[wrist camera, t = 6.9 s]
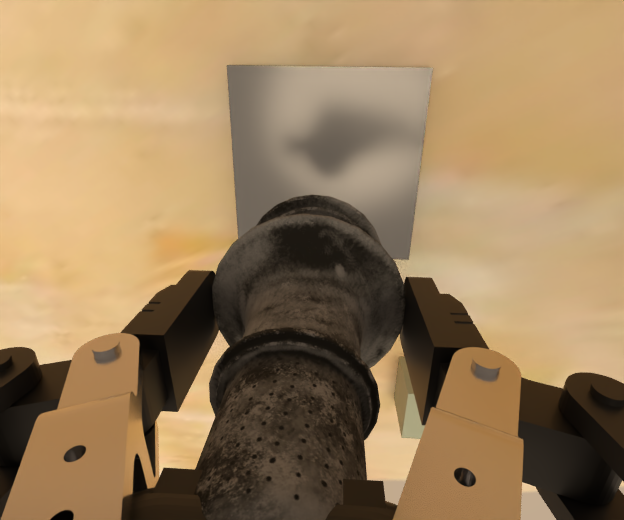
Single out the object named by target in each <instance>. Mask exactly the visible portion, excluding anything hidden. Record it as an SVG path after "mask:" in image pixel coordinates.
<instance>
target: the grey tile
mask: <svg viewBox="0 0 624 520" xmlns="http://www.w3.org/2000/svg"><path fill="white" fill-rule="evenodd" d="M432 72H433V68H422V67H338V66H253V65H227V75H228V90H229V105H230V120H231V135H232V150H233V165H234V180H235V195H236V210H237V225H238V239H239V238H240V237H241V236H243V235H244V234H245V233H246V232H248V231H249V230H250V229H251V228H253V227H255V226H256V225H257V224H258V222H259V221H260V219H261V218H262V216H263V215H264V214H266V213H267V212H268V211H269V210H271V209H272V208H273V207H274V206H276V205H277V204H279V203H281V202H284V201H286V200H288V199H291V198H293V197H299V196H305V195H321V196H330V197H333V198H336V199H339V200H341V201H344V202H346V203H349V204H350V205H352V206H353V207H354V208H356V209H357V210H358V211H360V212H361V213H362V214H364V215H365V217H366V218H367V219H368V220H369V222H370V223H371V224H372V225H373V227H374V228H375V230H376V232H377V235H378V237H379V240H380V242H381V245H382V246H383V248H384V249H385V250H386V251H387V253H388V254H389V255H390V256H391V258H392V259H406V260H409V253H410V245H411V237H412V230H413V222H414V214H415V206H416V198H417V190H418V182H419V174H420V167H421V159H422V151H423V143H424V135H425V127H426V119H427V111H428V103H429V96H430V88H431V80H432Z"/></svg>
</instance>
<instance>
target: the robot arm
mask: <svg viewBox="0 0 624 520" xmlns="http://www.w3.org/2000/svg"><path fill="white" fill-rule="evenodd" d="M214 278H215V273H214V272H213V271H195V270H189V271H188V272H187V273H186V274H185V275H184V276H183V277H182V278H181V280H180V281H179V282H178V283H177V284H176V285H170V286H169V287H167V288H165V289H163V290H161V291H160V292H158V293H157V294H156V295H155V296H154V297H153V298H152V299H151V300H150V301H149V304H147V305H146V306H145V307H144V308H143V309H142V312H141V311H140V312H139V313H138V314H137V315H136V316H135V317H134V319H133V320H132V321H131V322H130V323H129V324H128V325H127V326H126V327H125V328H124V329H123V330H122V332H121V333H114V334H108V335H104V336H101V337H98V338H95V339H93V340H91V341H89V342H87V343H86V344H84V345H83V346H81V347H80V348H79V349H78V350H77V351H76V352H75V354H74V355H73V358H72V360H68V361H62V362H56V363H50V364H43V365H39V363H38V360H37V357H36V355H35V352H34V351H33V350H32V349H29V348H25V347H14V348H7V349H2V350H0V520H207V519H206V518H205V516H204V515H203V513H202V506H201V502H200V498H199V496H198V495H194V492H195V489H196V487H197V484H198V481H199V479H200V476H201V473H202V470H192V469H176V468H164V469H163V471H162V473H161V475H160V477H159V444H158V426H157V421H156V419H157V417H158V416H159V414H160V412H161V411H172V412H178V411H179V409H180V407H181V405H182V403H183V401H184V399H185V397H186V395H187V393H188V391H189V389H190V387H191V385H192V383H193V381H194V379H195V377H196V375H197V373H198V371H199V369H200V367H201V366H202V364H203V362H204V360H205V358H206V356H207V354H208V352H209V350H210V348H211V346H212V344H213V342H214V340H215V338H216V336H217V334H218V331H219V328H218V325H217V322H216V318H215V315H214V310H213V299H212V285H213V282H214ZM404 286H405V299H406V304H405V314H404V321H403V325H402V330H401V332H400V340H401V344H402V348H403V352H404V356H405V360H406V364H407V368H408V372H409V376H410V380H411V384H412V388H413V392H414V396H415V400H416V404H417V408H418V412H419V416H420V420H421V424H422V425H424V426H425V428H424V431H423V433H422V436H421V439H420V442H419V445H418V448H417V451H416V454H415V457H414V459H413V462H412V465H411V468H410V471H409V474H408V477H407V480H406V483H405V486H404V488H403V492H402V494H401V497H400V500H399V503H398V505H395V504H393V503H390V502H387V501H385V494H384V486H383V481H371V480H355V479H343V505H340V504H337V505H336V506H335V507H334V508H333V509H332V510H331V511H330V513H329V514H328V515H327V518H326V520H520V518H521V517H520V516H521V495H522V482H524V483H527V484H530V485H533V486H536V489H537V490H538V492H539V494H540V495H541V497H542V498H543V500H544V501H545V503H546V504H547V506H548V507H549V509H550V510H551V512H552V513H553V515H554V517H555V518H556V520H624V495H623V494H622V493H621V491H620V490H619V489H618V488H619V486H620V484H621V482H622V480H623V481H624V384H623V383H621V382H619V381H617V380H615V379H612V378H609V377H606V376H603V375H599V374H594V373H575V374H572V375H570V376H569V377H568V378H567V379H566V382H565V385H564V388H563V389H562V388H558V387H554V386H550V385H546V384H542V383H538V382H534V381H531V380H527V379H525V378H522V377H521V372H520V370H519V368H518V367H517V366H516V364H515V363H514V362H512V361H511V360H510V359H509V358H507V357H506V356H504V355H502V354H500V353H498V352H495V351H492V350H489V348H488V346H487V345H486V343H485V341H484V340H483V338H482V336H481V335H480V333H479V331H478V330H477V328H476V326H475V325H474V324H473V321H472V320H471V318H470V316H469V315H468V313H467V311H466V309H465V308H464V306H463V304H462V303H461V302H459V301H458V300H457V299H455V298H454V297H453V296H451V295H450V294H440V293H439V291H438V289H437V287H436V285H435V283H434V281H433V279H432V278H421V277H406V279H405V283H404Z"/></svg>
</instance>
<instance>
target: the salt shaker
mask: <svg viewBox="0 0 624 520" xmlns="http://www.w3.org/2000/svg"><path fill="white" fill-rule="evenodd" d="M212 299H213V310H214V315H215V318H216V322H217V325H218V328H219V330H220V332H221V333H222V335H223V337H224V338H225V340H226V341H227V343H228V344H229V346H230V347H229V348H228V349H227V350H226V351H225V352H224V354H223V355H222V356H221V358H220V359H219V360H218V362H217V363H216V365H215V367H214V370H213V373H212V376H211V379H210V383H209V390H210V403H211V405H212V408H213V411H214V414H215V416H216V417H215V420H214V422H213V425H212V427H211V430H210V432H209V435H208V438H207V440H206V443H205V445H204V448H203V451H202V453H201V456H200V458H199V461H198V464H197V466H196V469H195V470H202V473H201V476H200V479H199V481H198V484H197V487H196V489H195V492H194V495H198V496H199V498H200V502H201V506H202V513H203V515H204V516H205V518H206V519H207V520H326V518H327V515H328V514H329V513H330V511H331V510H332V509H333V508H334V507H335V506H336V505H337V504H340V505H343V479H355V480H367V475H366V461H365V448H364V440H365V439H366V438H368V436H369V434H370V433H371V431H372V429H373V428H374V426H375V424H376V423H377V418H378V413H379V408H380V401H379V394H378V386H377V383H376V381H375V379H374V377H373V375H372V373H371V371H370V369H369V368H371V367H372V366H374V365H375V364H376V363H377V362H378V361H379V360H380V359H381V358H382V357H383V356H384V355H385V354H386V353H388V352H389V351H390V350H391V348H392V346H393V344H394V342H395V341H396V339H397V337H398V335H399V334H400V332H401V330H402V325H403V321H404V314H405V304H406V299H405V286H404V283H403V281H402V278H401V276H400V273H399V271H398V268H397V266H396V263H395V262H394V260H393V259H392V258H391V256H390V255H389V254H388V253H387V251H386V250H385V249H384V248H383V246H382V245H381V242H380V240H379V237H378V235H377V232H376V230H375V228H374V227H373V225H372V224H371V223H370V222H369V220H368V219H367V218H366V217H365V215H364V214H362V213H361V212H360V211H358V210H357V209H356V208H354V207H353V206H352V205H350V204H349V203H346V202H344V201H341V200H339V199H336V198H333V197H330V196H321V195H305V196H299V197H293V198H291V199H288V200H286V201H284V202H281V203H279V204H277V205H276V206H274V207H273V208H272V209H271V210H269V211H268V212H267V213H266V214H264V215H263V216H262V218H261V219H260V221H259V222H258V224H257V225H256V226H255V227H253V228H251V229H250V230H249V231H248V232H246V233H245V234H244V235H243V236H241V237H240V238H239V239H238V240H237V241H235V242H234V243H233V244H232V245H231V247H230V248H229V250H228V251H227V253H226V254H225V256H224V257H223V259H222V260H221V262H220V263H219V265H218V268H217V271H216V275H215V278H214V282H213V285H212Z"/></svg>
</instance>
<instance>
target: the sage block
mask: <svg viewBox="0 0 624 520" xmlns="http://www.w3.org/2000/svg"><path fill="white" fill-rule="evenodd" d="M394 400H395V405H396V411H397V416H398V421H399V426H400V431H401V437H402V438H414V439H421V436H422V433H423V431H424V428H425V426H424V425H422V424H421V420H420V416H419V412H418V408H417V404H416V400H415V396H414V392H413V388H412V384H411V380H410V376H409V372H408V368H407V364H406V360H405V357H399V363H398V370H397V378H396V385H395V393H394Z"/></svg>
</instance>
